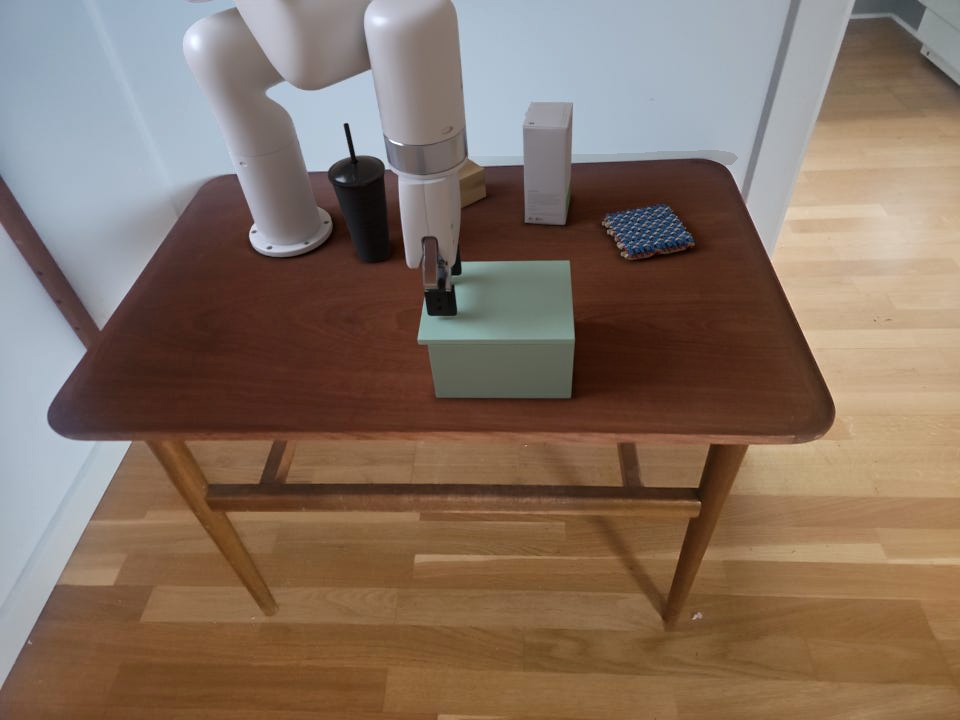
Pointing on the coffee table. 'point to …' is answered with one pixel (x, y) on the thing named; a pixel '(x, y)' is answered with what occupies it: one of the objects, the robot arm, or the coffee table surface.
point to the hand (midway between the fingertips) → (445, 292)
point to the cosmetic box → (547, 161)
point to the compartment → (502, 370)
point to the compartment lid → (506, 305)
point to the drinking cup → (363, 201)
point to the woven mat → (648, 232)
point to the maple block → (471, 183)
